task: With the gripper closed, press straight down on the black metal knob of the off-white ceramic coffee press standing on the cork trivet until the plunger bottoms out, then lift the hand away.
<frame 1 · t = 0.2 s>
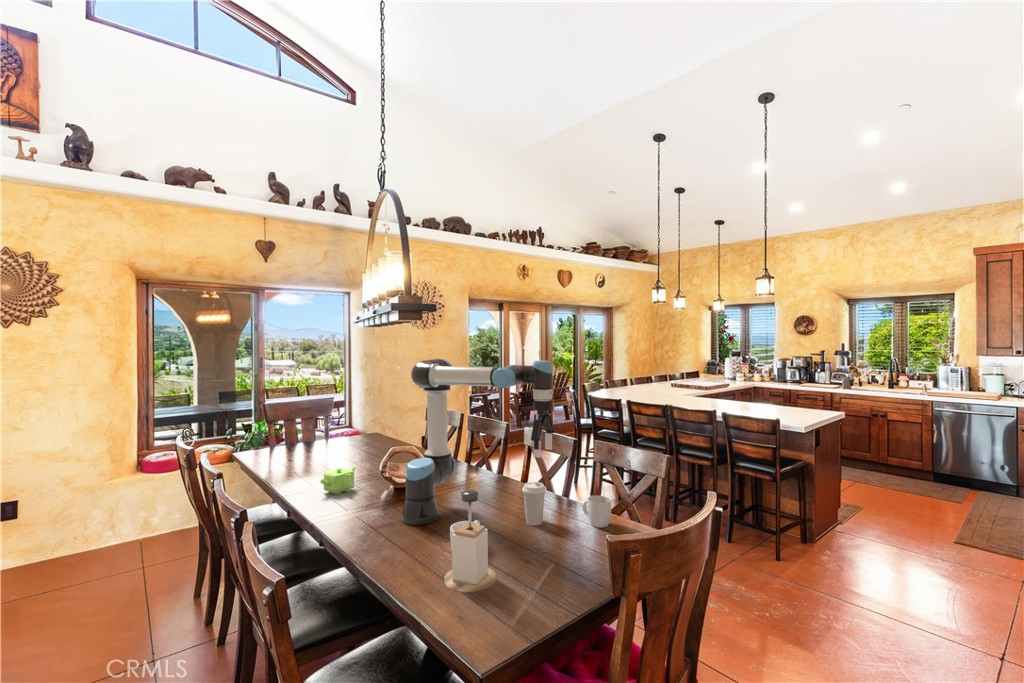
hand: (543, 453, 185), 28 cm above the table, fingers open, 13 cm apart
trivet: (470, 580, 142), on the table
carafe: (470, 577, 142), resting on trivet
mug 2: (467, 548, 164), on the table
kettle: (340, 492, 226), on the table
coffee cup: (534, 522, 187), on the table
plunger: (469, 517, 142), point 19 cm above the table, slide at 0.0 cm
mug: (595, 523, 185), on the table
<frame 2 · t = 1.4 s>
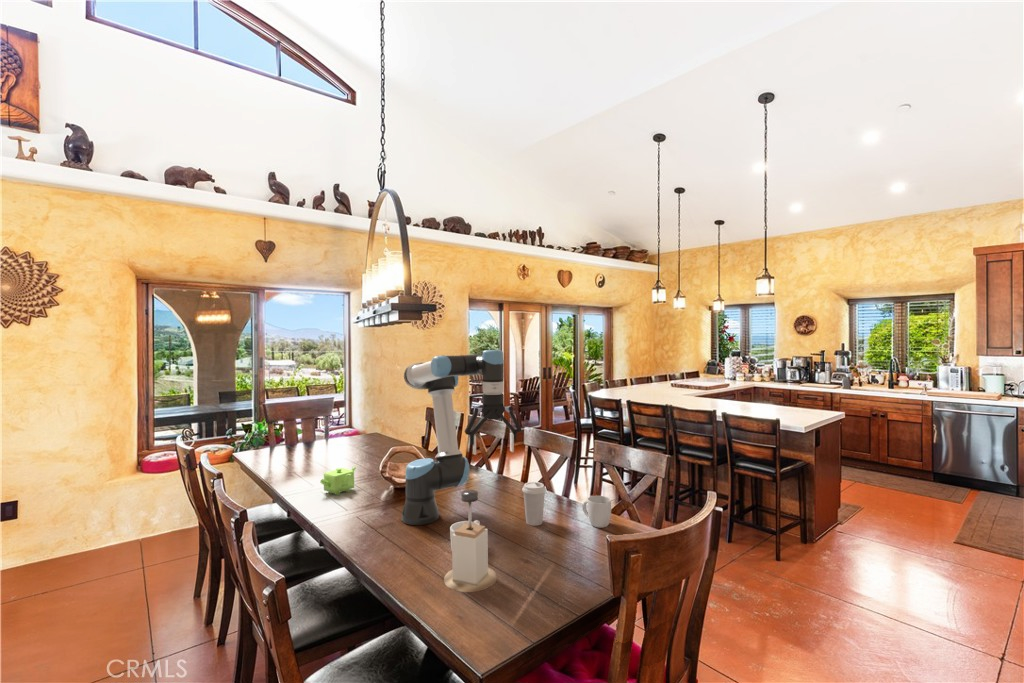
hand: (493, 452, 167), 33 cm above the table, fingers open, 13 cm apart
nothing on the table moved.
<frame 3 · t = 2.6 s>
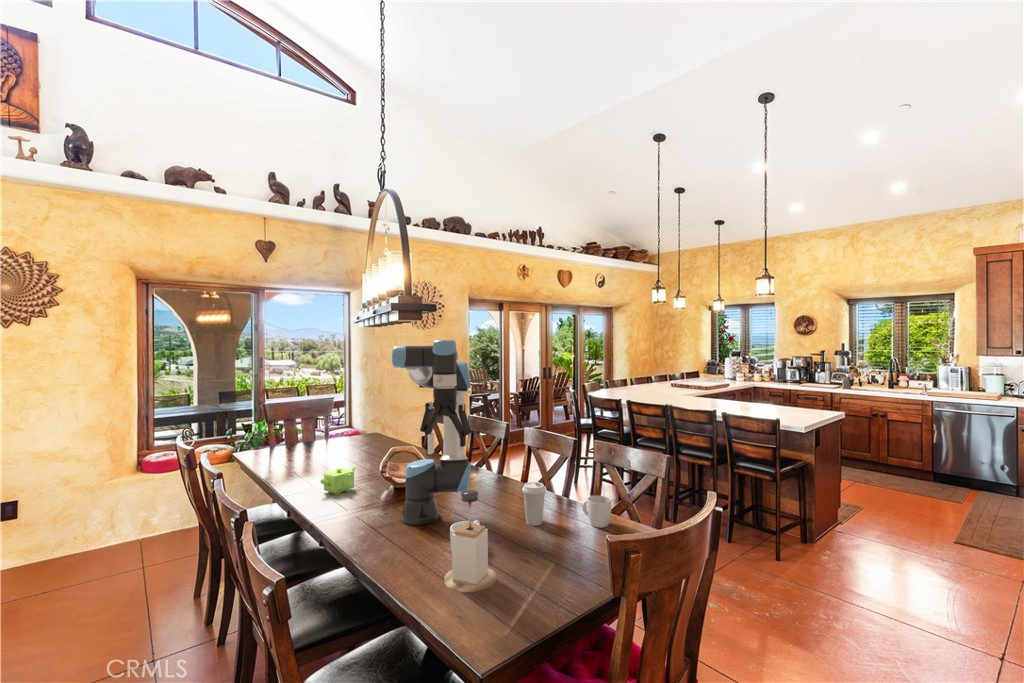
hand: (445, 454, 152), 36 cm above the table, fingers open, 10 cm apart
nothing on the table moved.
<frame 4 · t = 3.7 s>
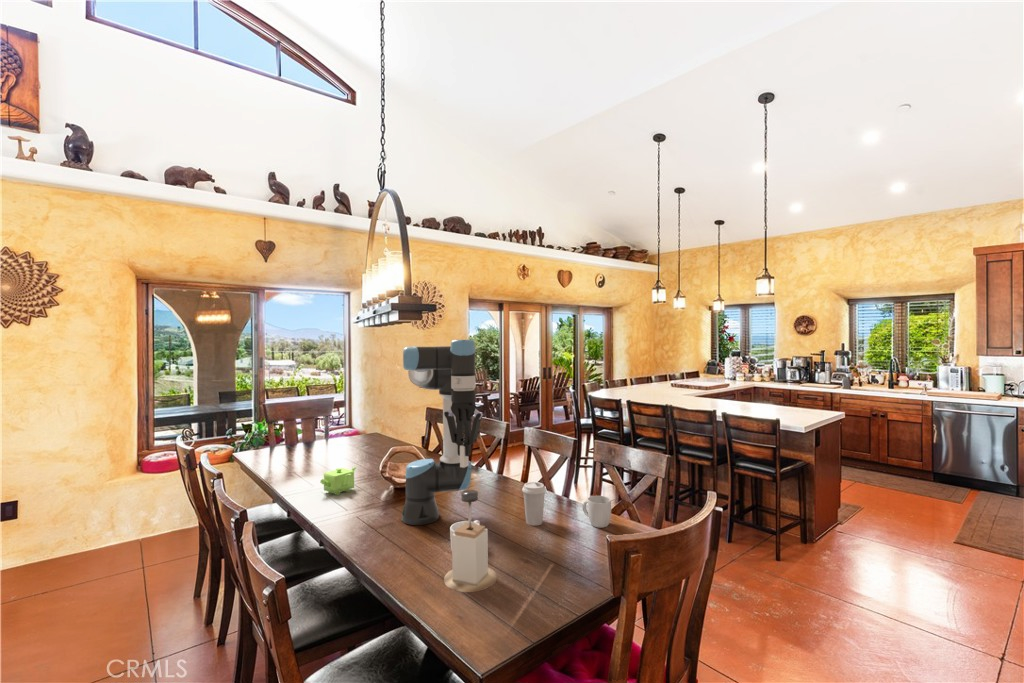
hand: (464, 466, 144), 35 cm above the table, fingers closed
nothing on the table moved.
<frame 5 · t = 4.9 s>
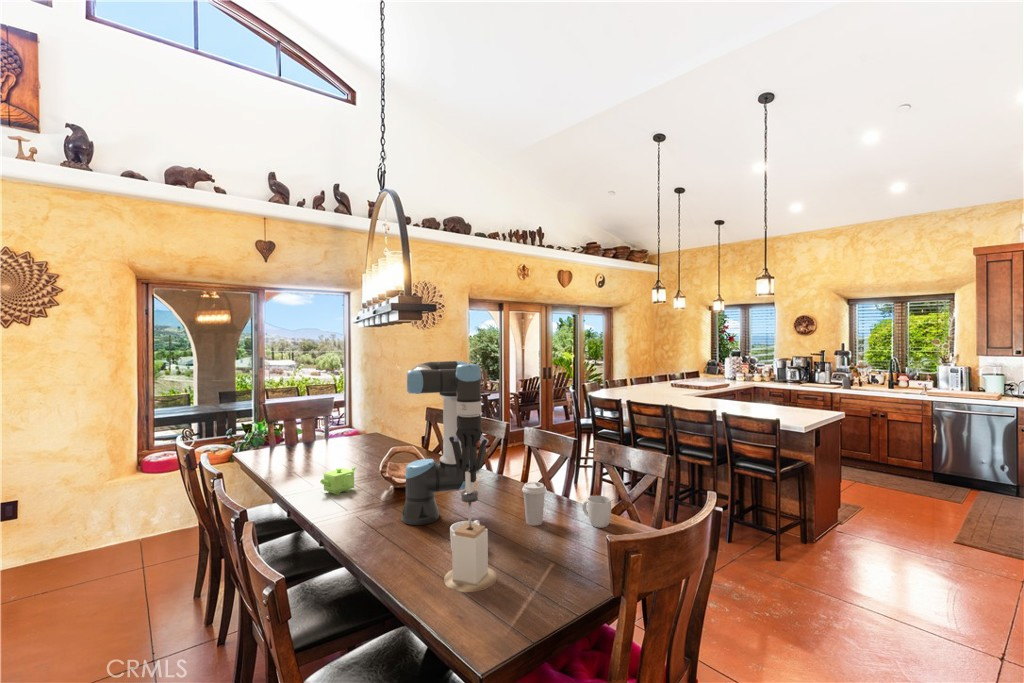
hand: (469, 492, 142), 27 cm above the table, fingers closed
plunger: (469, 518, 142), point 19 cm above the table, slide at 0.1 cm, touching gripper
everything else where it was.
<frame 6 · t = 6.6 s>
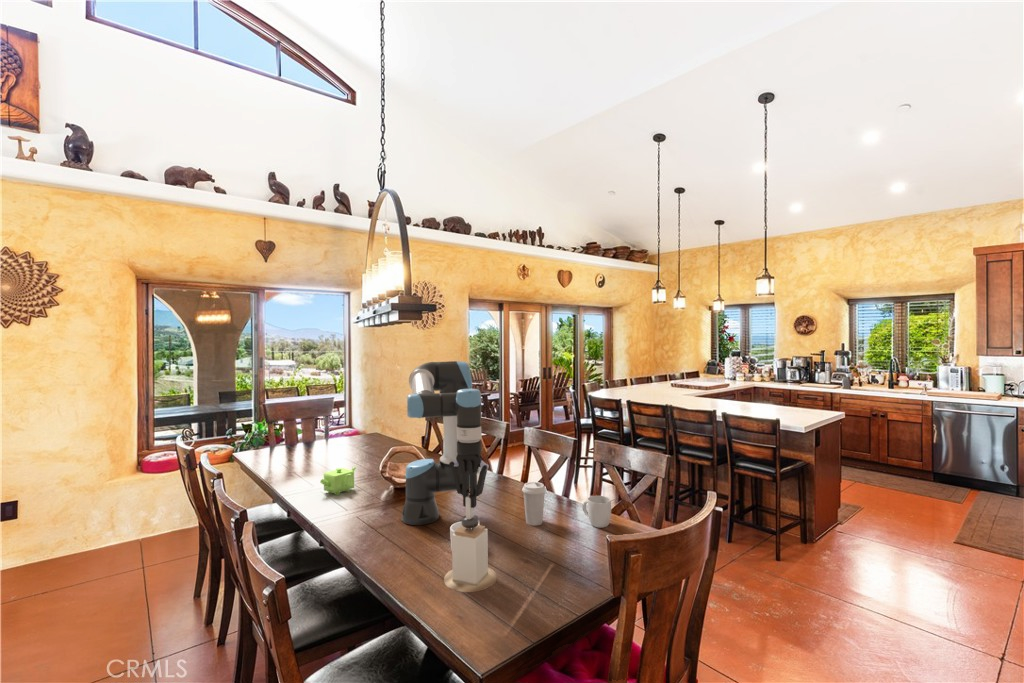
hand: (469, 517, 142), 19 cm above the table, fingers closed
plunger: (470, 543, 142), point 11 cm above the table, slide at 7.7 cm, touching gripper
everything else where it was.
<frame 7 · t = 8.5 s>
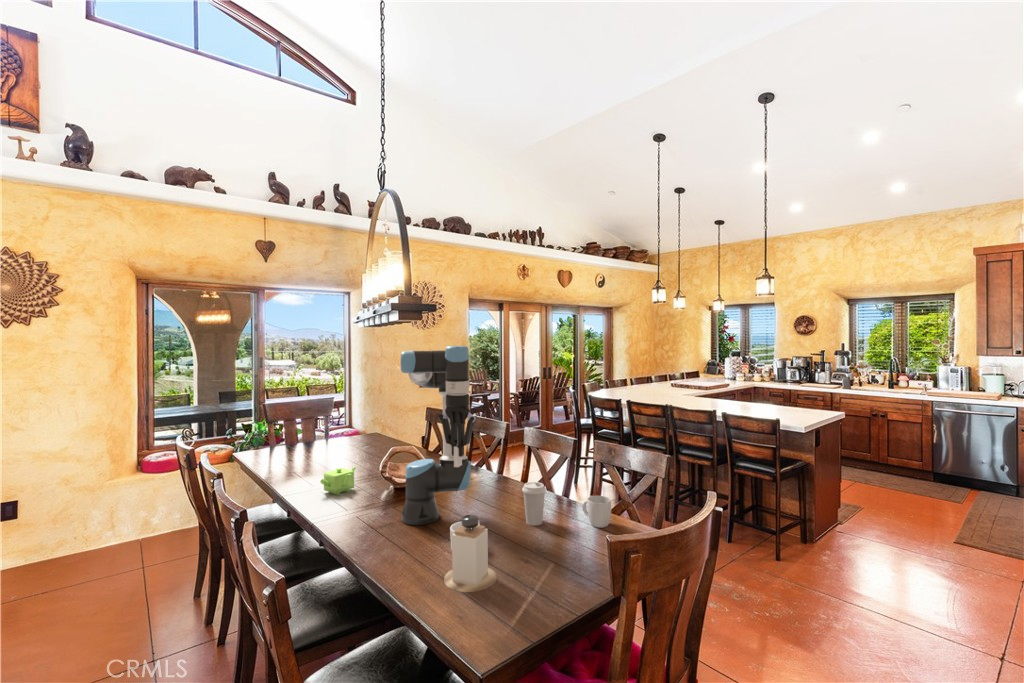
hand: (457, 465, 152), 32 cm above the table, fingers closed
plunger: (470, 543, 142), point 11 cm above the table, slide at 7.7 cm
everything else where it was.
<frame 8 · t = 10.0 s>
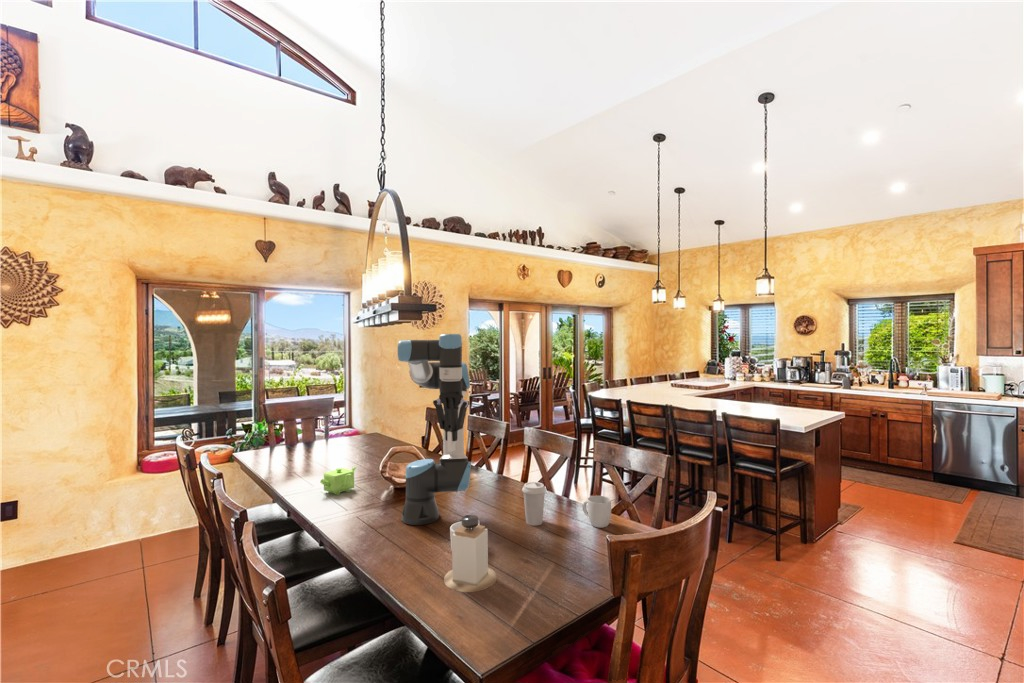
hand: (451, 450, 156), 36 cm above the table, fingers closed
nothing on the table moved.
at the end: plunger slide at 7.7 cm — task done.
